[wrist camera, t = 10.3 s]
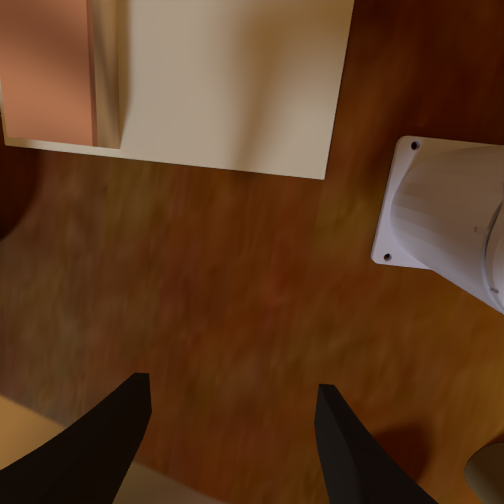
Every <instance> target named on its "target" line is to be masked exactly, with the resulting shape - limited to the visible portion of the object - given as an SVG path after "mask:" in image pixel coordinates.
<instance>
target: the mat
mask: <svg viewBox="0 0 504 504" xmlns="http://www.w3.org/2000/svg"><path fill="white" fill-rule="evenodd" d="M353 5H354V0H117V36H118V85H119V134H120V149H112V148H102V147H93V146H84V145H75V144H66V143H57V142H48V141H40V140H31V139H22V138H13V137H7V130H6V122H5V114H4V106H3V98H2V90H1V82H0V110H1V117H2V125H3V133H4V140H5V145H8V146H18V147H27V148H36V149H45V150H55V151H64V152H73V153H82V154H92V155H101V156H110V157H119V158H129V159H138V160H147V161H157V162H166V163H175V164H184V165H194V166H203V167H212V168H221V169H231V170H240V171H249V172H259V173H268V174H277V175H286V176H296V177H305V178H314V179H323V180H324V177H325V171H326V165H327V159H328V153H329V147H330V142H331V136H332V130H333V124H334V118H335V112H336V106H337V100H338V94H339V88H340V82H341V76H342V70H343V65H344V59H345V53H346V47H347V41H348V35H349V29H350V23H351V17H352V11H353Z"/></svg>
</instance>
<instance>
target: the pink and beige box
mask: <svg viewBox="0 0 504 504" xmlns="http://www.w3.org/2000/svg"><path fill="white" fill-rule="evenodd" d="M0 82H1V90H2V98H3V106H4V114H5V122H6V130H7V137H13V138H22V139H31V140H40V141H48V142H57V143H66V144H75V145H84V146H93V147H102V148H112V149H120V134H119V85H118V36H117V0H0Z"/></svg>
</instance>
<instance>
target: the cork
mask: <svg viewBox="0 0 504 504" xmlns="http://www.w3.org/2000/svg"><path fill="white" fill-rule="evenodd" d="M464 471H465V479H466V481H467V483H468V485H469V486H470V488H471V489H472V490H473V491H474V493H475V494H476V495H477V496H478V498H479V499H480V500H481V501H482V503H483V504H504V442H501V443H495V444H492V445H489V446H487V447H484V448H482V449H481V450H479V451H478V452H476V453H475V454H474V455H473V456H472V457H471V458H470V459H469V461H468V462H467V465H466V467H465V469H464Z"/></svg>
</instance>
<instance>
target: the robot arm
mask: <svg viewBox="0 0 504 504" xmlns="http://www.w3.org/2000/svg"><path fill="white" fill-rule="evenodd" d="M412 142H416V144H417V147H416V149H414V150H413V149H412V148H411V144H412ZM386 254H389V258H388V259H384V256H385V255H386ZM371 259H372V260H373V261H374V262H375V263H378V264H387V265H396V266H405V267H414V268H423V269H432V270H433V271H435V272H437V273H438V274H440V275H441V276H443V277H445V278H446V279H448V280H449V281H451V282H453V283H454V284H456V285H457V286H459V287H461V288H462V289H464V290H465V291H467V292H469V293H470V294H472V295H473V296H475V297H477V298H478V299H480V300H481V301H483V302H485V303H486V304H488V305H489V306H491V307H493V308H494V309H496V310H497V311H499V312H501V313H502V314H504V145H492V144H483V143H473V142H464V141H455V140H445V139H436V138H426V137H417V136H403V137H401V138H400V139H399V140H398V141H397V143H396V147H395V151H394V155H393V160H392V164H391V168H390V173H389V177H388V182H387V186H386V190H385V195H384V199H383V203H382V208H381V212H380V216H379V221H378V225H377V230H376V234H375V238H374V243H373V247H372V251H371ZM151 413H152V408H151V394H150V381H149V373H134V374H133V375H132V376H130V377H129V378H128V379H127V380H126V381H124V382H123V383H122V384H121V385H120V386H119V387H118V388H116V389H115V390H114V391H113V392H112V393H111V394H109V395H108V396H107V397H106V398H105V399H103V400H102V401H101V402H100V403H99V404H97V405H96V406H95V407H94V408H93V409H91V410H90V411H89V412H88V413H86V414H85V415H84V416H82V417H81V418H80V419H79V420H77V421H76V422H75V423H73V424H72V425H71V426H69V427H68V428H67V429H65V430H64V431H62V432H61V433H60V434H58V435H57V436H55V437H54V438H52V439H51V440H50V441H48V442H46V443H45V444H44V445H42V446H40V447H39V448H37V449H36V450H34V451H32V452H31V453H29V454H27V455H26V456H24V457H22V458H21V459H19V460H17V461H16V462H14V463H12V464H10V465H9V466H7V467H5V468H4V469H2V470H0V504H112V503H113V500H114V498H115V496H116V494H117V492H118V490H119V488H120V486H121V483H122V481H123V479H124V477H125V475H126V473H127V471H128V469H129V467H130V465H131V463H132V460H133V458H134V456H135V454H136V452H137V450H138V448H139V446H140V443H141V441H142V439H143V437H144V434H145V431H146V428H147V425H148V422H149V419H150V416H151ZM314 425H315V434H316V441H317V449H318V453H319V458H320V462H321V467H322V471H323V475H324V479H325V483H326V488H327V492H328V496H329V500H330V504H438V503H437V502H436V501H435V500H434V499H433V498H432V497H431V496H429V495H428V494H427V493H426V492H425V491H424V490H423V489H422V488H421V487H419V486H418V485H417V484H416V483H415V482H414V481H413V480H412V479H411V478H410V477H409V476H408V475H407V474H406V473H405V472H404V471H403V470H402V469H401V468H400V467H399V466H398V465H397V464H396V463H395V462H394V461H393V460H392V459H391V458H390V457H389V455H388V454H387V453H386V452H385V451H384V450H383V449H382V447H381V446H380V445H379V444H378V443H377V442H376V440H375V439H374V438H373V437H372V436H371V434H370V433H369V432H368V431H367V429H366V428H365V427H364V426H363V424H362V423H361V422H360V420H359V419H358V418H357V416H356V415H355V414H354V412H353V411H352V410H351V408H350V407H349V405H348V404H347V403H346V401H345V400H344V398H343V397H342V395H341V394H340V393H339V391H338V390H337V388H336V387H335V386H334V385H329V384H319V388H318V396H317V404H316V412H315V420H314Z"/></svg>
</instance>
